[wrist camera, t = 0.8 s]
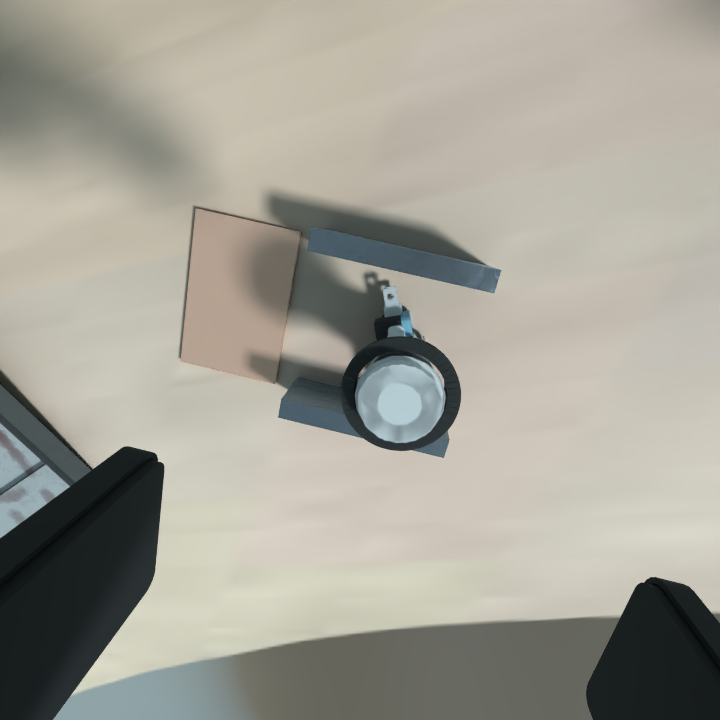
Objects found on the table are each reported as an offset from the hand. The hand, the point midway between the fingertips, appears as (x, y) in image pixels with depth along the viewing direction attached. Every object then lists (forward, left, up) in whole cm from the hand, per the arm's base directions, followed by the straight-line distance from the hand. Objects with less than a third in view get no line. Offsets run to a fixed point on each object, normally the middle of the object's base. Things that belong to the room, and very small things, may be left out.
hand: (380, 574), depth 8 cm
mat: (+11, 0, -20) cm, 23 cm away
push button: (0, 0, -20) cm, 20 cm away
